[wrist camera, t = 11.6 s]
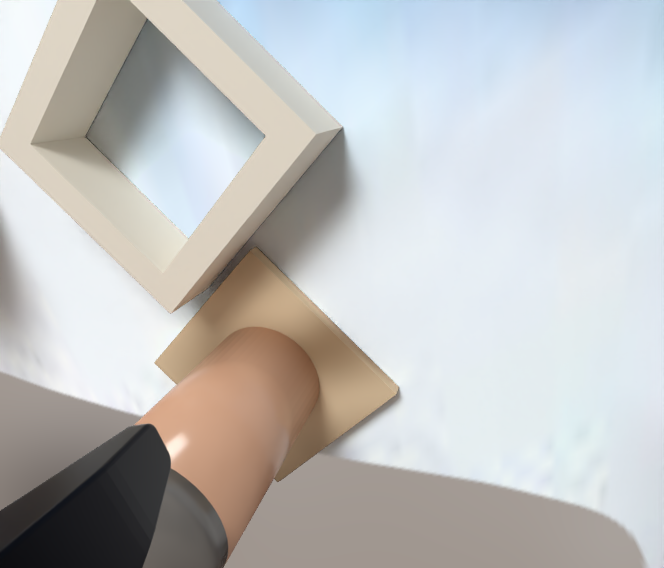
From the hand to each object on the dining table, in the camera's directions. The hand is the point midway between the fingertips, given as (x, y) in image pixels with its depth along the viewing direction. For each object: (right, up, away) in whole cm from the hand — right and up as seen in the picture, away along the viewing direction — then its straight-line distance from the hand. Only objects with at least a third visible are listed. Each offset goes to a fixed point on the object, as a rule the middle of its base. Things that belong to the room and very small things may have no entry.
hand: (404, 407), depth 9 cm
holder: (-8, +9, +13) cm, 17 cm away
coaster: (-4, -2, +16) cm, 17 cm away
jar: (-4, -2, +15) cm, 16 cm away
